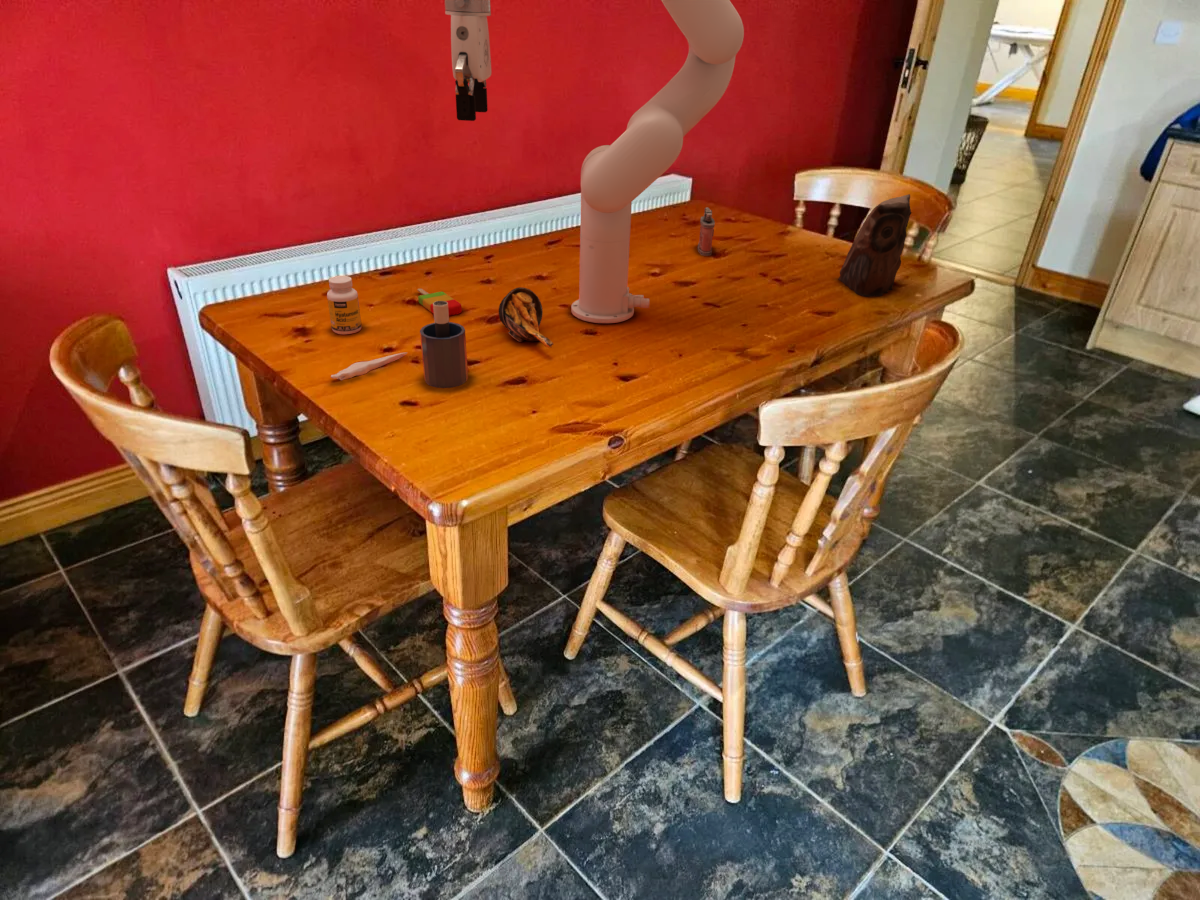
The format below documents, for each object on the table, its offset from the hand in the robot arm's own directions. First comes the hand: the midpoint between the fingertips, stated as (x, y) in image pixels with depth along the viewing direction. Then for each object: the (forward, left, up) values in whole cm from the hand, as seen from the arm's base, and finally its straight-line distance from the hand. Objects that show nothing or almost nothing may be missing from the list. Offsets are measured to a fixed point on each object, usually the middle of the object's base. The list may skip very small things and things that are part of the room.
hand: (472, 115), depth 140 cm
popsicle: (+10, -2, -36) cm, 38 cm away
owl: (-82, -26, -36) cm, 93 cm away
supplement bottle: (+23, +13, -36) cm, 45 cm away
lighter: (-47, -47, -36) cm, 75 cm away
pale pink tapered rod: (+13, +30, -36) cm, 49 cm away
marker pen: (0, +32, -36) cm, 48 cm away
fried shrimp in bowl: (-11, +14, -36) cm, 41 cm away
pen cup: (0, +32, -36) cm, 49 cm away
